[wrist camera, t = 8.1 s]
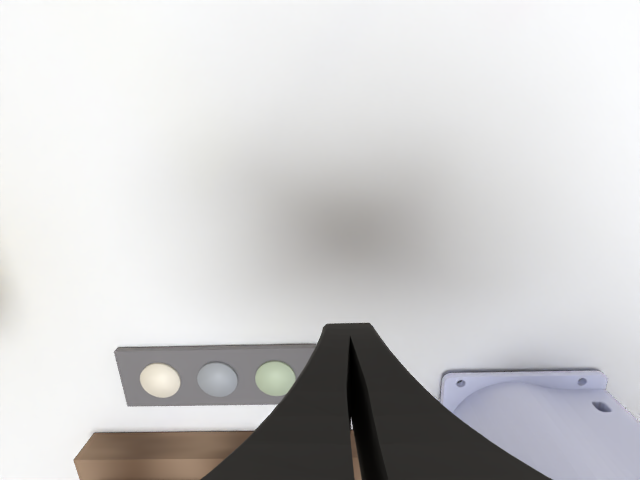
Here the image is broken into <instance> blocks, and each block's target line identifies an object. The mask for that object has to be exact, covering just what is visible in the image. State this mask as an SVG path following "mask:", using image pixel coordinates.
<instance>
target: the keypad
mask: <svg viewBox="0 0 640 480" xmlns="http://www.w3.org/2000/svg"><path fill="white" fill-rule="evenodd" d="M253 432H254V431H233V432H143V433H94V434H93V435H92V436H91V438H90V439H89V440H88V442H87V443H86V444H85V446H84V447H83V448H82V449H81V451H80V452H79V453H78V455H77V456H76V457H75V459H74V463H75V466H76V469H77V472H78V475H79V479H80V480H200V479H202V478H203V477H204V476H205V475H207V474H208V473H209V472H210V471H212V470H213V469H214V468H215V467H216V466H217V465H218V464H220V463H221V462H222V461H223V460H224V459H225V458H226V457H227V456H229V455H230V454H231V453H232V452H233V451H234V450H235V449H236V448H238V447H239V446H240V445H241V444H242V443H243V442H244V441H245V440H246V439H247V438H248V437H249V436H250V435H251V434H252V433H253ZM350 438H351V449H352V459H353V469H354V479H355V480H362V478H361V472H360V467H359V461H358V455H357V449H356V443H355V437H354V431H353V430H351V434H350Z"/></svg>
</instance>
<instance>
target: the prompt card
mask: <svg viewBox="0 0 640 480" xmlns="http://www.w3.org/2000/svg"><path fill="white" fill-rule="evenodd" d="M315 347H316V344H294V345H242V346H189V347H137V348H117V349H116V350H115V351H114V353H115V357H116V362H117V366H118V370H119V374H120V378H121V382H122V386H123V390H124V394H125V398H126V402H127V406H195V405H268V404H279V403H280V402H281V400H282V399H283V398H284V396H285V395H286V394H287V392H288V391H289V390H290V388H291V387H292V386H293V384H294V383H295V381H296V380H297V378H298V377H299V375H300V373H301V372H302V370H303V369H304V367H305V366H306V364H307V362H308V360H309V358H310V357H311V355H312V353H313V351H314V349H315Z"/></svg>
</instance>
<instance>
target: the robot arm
mask: <svg viewBox="0 0 640 480" xmlns="http://www.w3.org/2000/svg"><path fill="white" fill-rule="evenodd" d="M579 379H581V380H579ZM459 380H463V381H462V382H460V383H457V382H458V381H459ZM578 380H579V381H578ZM607 382H608V378H607V376H606V375H605V374H604V373H603V372H601V371H538V372H476V373H448V374H446V375H445V376H444V377H443V379H442V387H441V399H440V402H439V401H438V400H436V399H435V398H434V397H433V396H432V395H431V394H430V393H429V392H428V391H427V390H426V389H425V388H424V387H423V386H422V385H421V384H420V383H419V382H418V381H417V380H416V379H415V378H414V377H413V376H412V375H411V374H410V373H409V372H408V371H407V370H406V368H405V367H404V366H403V365H402V364H401V363H400V362H399V360H398V359H397V358H396V357H395V356H394V355H393V353H392V352H391V351H390V350H389V348H388V347H387V346H386V344H385V343H384V342H383V340H382V339H381V338H380V336H379V335H378V333H377V332H376V330H375V329H374V327H373V326H372V325H371V324H370V323H341V324H326V325H325V326H324V327H323V330H322V333H321V336H320V339H319V341H318V343H317V345H316V347H315V349H314V351H313V353H312V355H311V357H310V358H309V360H308V362H307V364H306V366H305V367H304V369H303V370H302V372H301V373H300V375H299V377H298V378H297V380H296V381H295V383H294V384H293V386H292V387H291V388H290V390H289V391H288V392H287V394H286V395H285V396H284V398H283V399H282V400H281V402H280V403H279V404H278V405H277V406H276V408H275V409H274V410H273V411H272V412H271V414H270V415H269V416H268V417H267V418H266V419H265V420H264V421H263V422H262V423H261V425H260V426H259V427H258V428H257V429H256V430H255V431H254V432H253V433H252V434H251V435H250V436H249V437H248V438H247V439H246V440H245V441H244V442H243V443H242V444H241V445H240V446H239V447H238V448H236V449H235V450H234V451H233V452H232V453H231V454H230V455H229V456H227V457H226V458H225V459H224V460H223V461H222V462H221V463H220V464H218V465H217V466H216V467H215V468H214V469H213V470H212V471H210V472H209V473H208V474H207V475H205V476H204V477H203V478H202V479H200V480H355V479H354V469H353V459H352V449H351V438H350V434H351V419H352V425H353V431H354V437H355V443H356V449H357V455H358V461H359V467H360V472H361V478H362V480H640V422H639V421H638V420H637V419H636V418H635V417H634V416H633V415H632V414H631V413H630V412H629V411H627V410H626V409H625V408H624V407H623V406H622V405H621V404H620V403H619V402H618V401H617V400H616V399H615V398H614V397H613V396H612V395H611V394H610V393H609V392H607V391H606V386H607Z"/></svg>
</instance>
